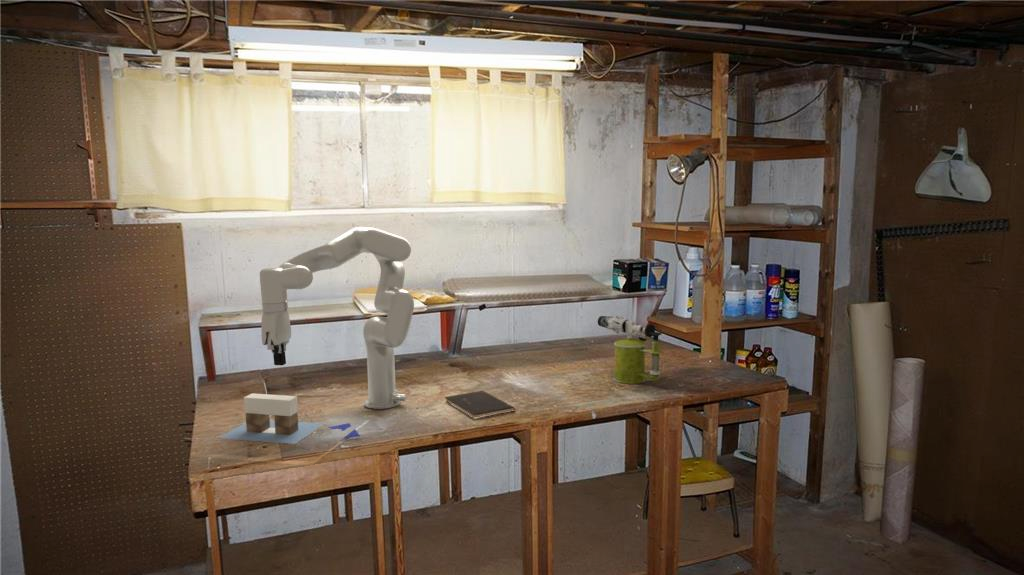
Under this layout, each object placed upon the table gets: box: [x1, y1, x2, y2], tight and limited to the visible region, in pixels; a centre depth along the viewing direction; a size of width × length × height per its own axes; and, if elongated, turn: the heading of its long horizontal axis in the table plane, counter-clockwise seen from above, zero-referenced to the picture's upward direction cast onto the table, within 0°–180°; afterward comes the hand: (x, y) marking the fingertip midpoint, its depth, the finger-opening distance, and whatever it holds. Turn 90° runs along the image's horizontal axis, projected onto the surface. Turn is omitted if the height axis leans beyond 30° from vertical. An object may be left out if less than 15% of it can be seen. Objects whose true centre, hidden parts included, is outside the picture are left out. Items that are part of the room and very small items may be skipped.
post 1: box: [245, 413, 271, 433], centre depth 215 cm, size 5×5×6 cm
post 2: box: [273, 412, 299, 435], centre depth 213 cm, size 5×5×6 cm
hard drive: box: [328, 423, 361, 442], centre depth 214 cm, size 2×8×12 cm
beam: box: [243, 392, 299, 416], centre depth 213 cm, size 16×4×5 cm, turn 76°
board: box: [218, 419, 325, 445], centre depth 214 cm, size 26×18×1 cm
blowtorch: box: [597, 315, 664, 385], centre depth 270 cm, size 13×33×25 cm, turn 36°
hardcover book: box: [444, 390, 516, 418], centre depth 239 cm, size 16×23×2 cm
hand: (280, 364), depth 215 cm, fingers closed
